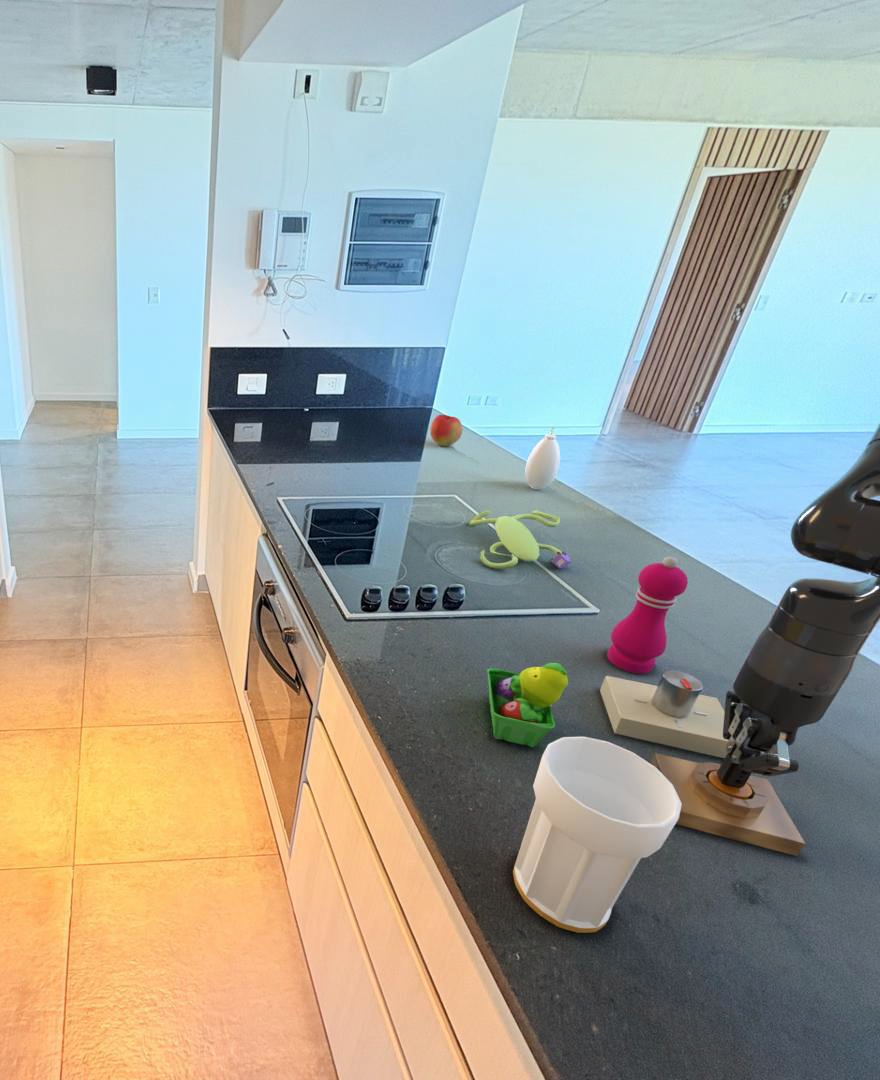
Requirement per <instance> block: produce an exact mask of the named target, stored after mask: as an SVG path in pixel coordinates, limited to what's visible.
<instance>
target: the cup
mask: <svg viewBox="0 0 880 1080" xmlns="http://www.w3.org/2000/svg"><path fill="white" fill-rule="evenodd" d="M532 788H533V792H534V797H535V800H534V803H533V806H532V810H531V813H530V816H529V819H528V822H527V826H526V828H525V832H524V835H523V838H522V841H521V843H520V848H519V850H518V854H517V857H516V860H515V863H514V867H513V870H512V875H513V880H514V886H515V888H516V889H517V891H518V893H519V895H520V896H521V898H522V899H523V901H524V902H525V903H526V904H527V905H528V906H529V907H530V908H531V909H532V910H533V911H534V912H535V913H536V914H537V915H539V916H540V917H541V918H543V919H544V920H546V921H548V923H551V924H552V925H554V926H556V927H558V928H561V929H563V930H566V931H571V932H575V933H578V934H580V933H581V934H582V933H583V934H587V933H588V934H589V933H597V932H598V931H599V930H601V929H602V928H603V927H605V925H607V923H608V921H609V919H610V917H611V915H612V910H613V907H614V905H615V904H616V902H617V901H618V898H620V895H621V894H622V892H623V890H624V888H625V886H626V885H627V883H628V881H629V880H630V878H631V876H632V875H633V872H634V871H635V869H636V868H637V866H638V864H639V862H640V861H641V859H645V858H646V859H647V858H648V857H650V856H651V855H653V854H654V853H656V852H657V851H659V850H661V848H662V847H663V845H664V843H665V842H666V840H667V839H668V837H669V835H670V834H671V833H672V830H673V829H674V827H675V825H677V824H676V822H677V821H678V819H679V815H680V810H681V806H682V803H681V801H680V799H679V797H678V795H677V793H676V791H675V789H674V786H673V785H672V784H671V783H670V782H669V781H668V779H667V778H666V777H665V776H664V775H663V774H662V773H661V772H660V771H659V770H658V769H657V768H656V767H655V766H653V765H651V764H650V762H648V761H647V760H646V759H644V758H643V757H641V756H639V755H638V754H636V753H634V752H633V751H631V750H628V749H626V748H624V747H621V746H619V745H617V744H615V743H612V742H609V741H606V740H601V739H598V738H592V737H587V736H563V737H560V738H557V739H556V740H554V741H552V742H550V743H548V744H547V746H546V748H545V749H544V752H543V753H542V755H541V758H540V763H539V765H538V769H537V772H536V775H535V778H534V782H533V785H532Z"/></svg>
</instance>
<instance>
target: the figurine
mask: <svg viewBox="0 0 880 1080" xmlns="http://www.w3.org/2000/svg"><path fill="white" fill-rule="evenodd" d="M531 513H532V514H531ZM531 513H520V514H516V515H513V516H507V515H502V516H499V517H498V518H497V517H491V518H486V517H487V516H490V514H491V511H490V510H489V509H487V510H484V511H482V512H480V513H478V514H477V515H474V516H473V517H472V518H471V519H470V520H469V521H468V525H469V526H471V527H475V526H481V525H486V524H487V525H488V524H489V525H490V524H495V526H494V528H495V531H496V535H497V537H498V538H499V541H497V542H495V543H493V544H492V545H491V546H490V547H489V551H490V553H491V554H493V555H497V556H503V557H509V558H511V560H509V561H506V562H501V563H500V562H499V563H498V562H496V563H495V562H491V561H489V560H488V559H487V558H486V556H485V553H486V552H485V549H483V550H481V551H480V554H479V558H480V561H481V563H483V564H484V565H485V566H486V567H488V568H490V569H494V570H495V569H496V570H505V569H509V568H511V567H514V566H516V565H517V564H518V563H519V560H522V561H525V562H535V561H537V560H538V558H539V557H540V550H541V549H542V550H548V551H549V552H552V553H554V554H555V557H554V558H550V560H549V561H550V562H551V563H552V564H554V565H555V566H556V567H557V568H558V569H564V568H565V567H567V566H568V565H569V564H570V563H571V562H572V560H571V559H570V556H569V555H568V554H567V553H566V552H565V551H561V550H560V549H558V548H556V547H555V546H553V545H549V544H544V543H539V542H537V539H536V538H535V537H534V535H533V533H532V532H531V530H530V529H528V527H527V526H525V524H524V523H522V522H521V521H519V520H533V521H537V522H538V523H541V524H542V525H544V526H546V527H549V528H556V527H558V526H559V525H560V523H561V518H560V517H558V516H556V515H553V514H549V513H546V512H542V511H539V510H536V509H534V510H532V511H531ZM549 520H550V521H549ZM501 547H505V548H506V549H507V551H508V552H509V553H510V554H506V553H500V552H497V551H496V550H498V548H501Z"/></svg>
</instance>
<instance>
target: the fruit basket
mask: <svg viewBox="0 0 880 1080" xmlns="http://www.w3.org/2000/svg"><path fill="white" fill-rule="evenodd" d="M486 673H487V681H488V701H489V706H490V709H489V710H490V715H491V723H492V729H493V730H492V732H493V737H494V739H495V740H504V741H505V742H509V743H513V744H517V745H522V746H525V745H526V746H528V747H530V748H535V747H536V746H537V745H538V743H540V741H541V740H543V738H544V737H545V736H546V735H547V733H548V732H550V731H552V730H553V729H554V728H555V726H556V724H555V719H554V716H553V712H552V708H551V706H552V705H554V704H556V703H557V702H558V701H559V700H560V698H561V696H562V694H563V691H564V690H565V689H566V688H567V686H568V684H569V678H568V671H567V670H566V669H565V668H564V666H562V664H560V663H558V662H549V663H547V664H545V665H544V664H543V665H542V666H531V667H527V668H525V669H523V670H522V671H521V672H520V673H518V672H514V671H509V670H505V669H500V668H493V667H492V668H491V667H490V668H488V669H487V672H486Z"/></svg>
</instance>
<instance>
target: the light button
mask: <svg viewBox="0 0 880 1080" xmlns="http://www.w3.org/2000/svg"><path fill="white" fill-rule="evenodd" d="M707 779H708V781H709V783H710V784H711V785H713V786H714V787H715V788H716V789H717V790H718V791H720V792H722V793H724V794H726V795H728V796H730V797H734V798H738V799H742V800H746V799H749V797H750V796H751V794H752V790H751V788H750V786H749V785H748V784H747V783H746V784H745V785H744V787H742V788H737V787H732V786H728V785H724V784H722V783H721V781H720V779H719V777H718V775H717V771H713V772H711V773H710V774H709V776H708V778H707Z"/></svg>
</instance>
